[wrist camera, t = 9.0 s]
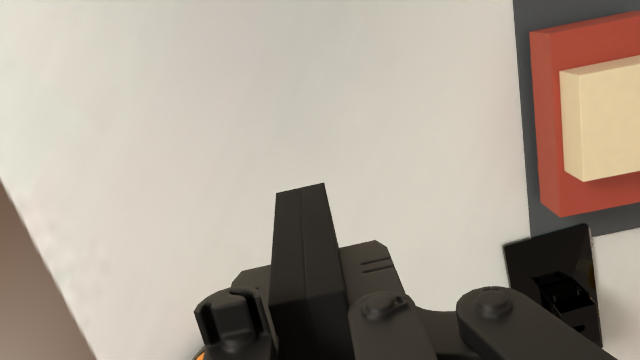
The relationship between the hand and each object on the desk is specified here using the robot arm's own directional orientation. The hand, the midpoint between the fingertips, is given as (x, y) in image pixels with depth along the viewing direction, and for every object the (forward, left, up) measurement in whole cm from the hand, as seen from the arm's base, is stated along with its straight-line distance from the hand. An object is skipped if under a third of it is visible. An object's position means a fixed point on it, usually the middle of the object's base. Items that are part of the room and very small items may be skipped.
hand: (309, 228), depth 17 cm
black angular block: (+21, +18, -24) cm, 37 cm away
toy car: (+5, +17, -21) cm, 27 cm away
